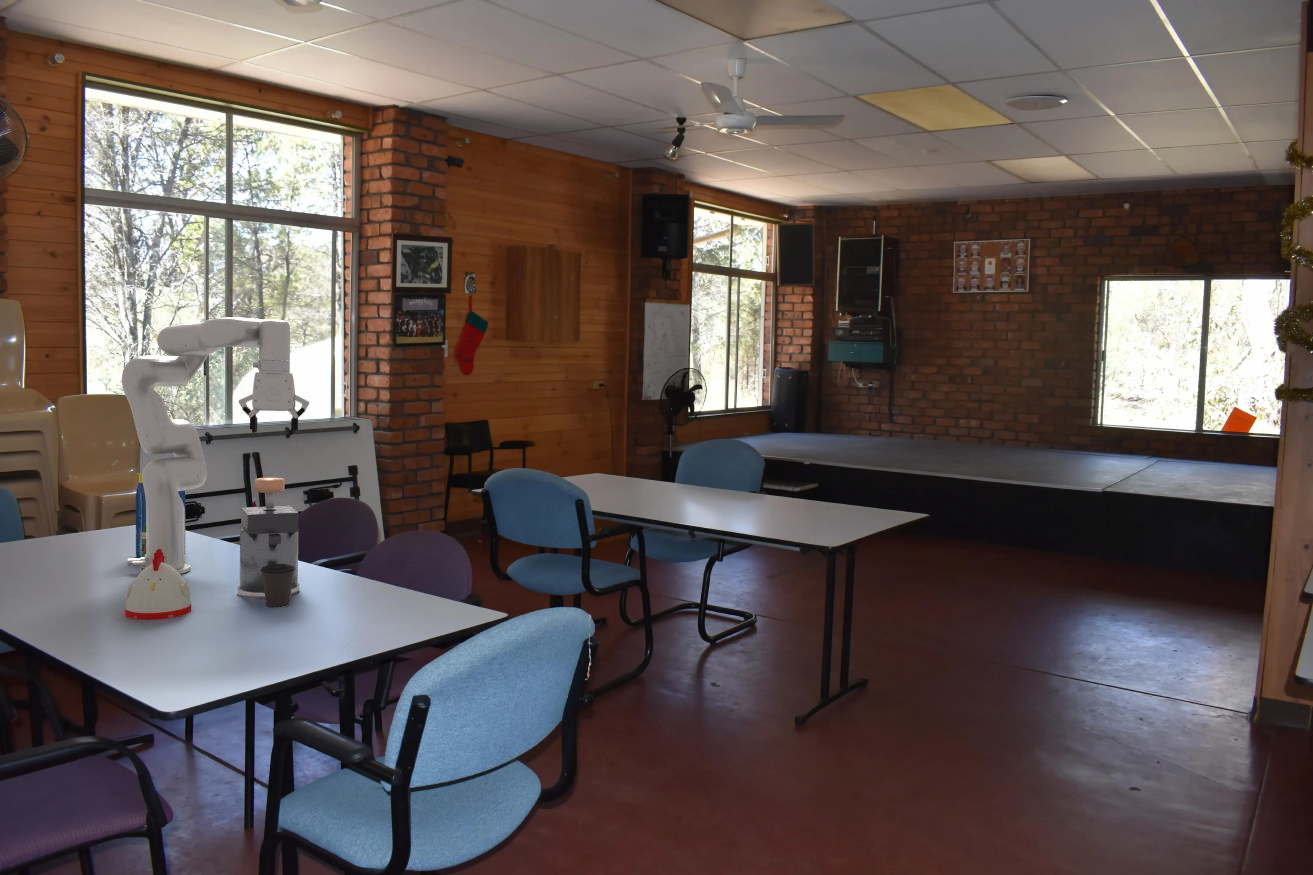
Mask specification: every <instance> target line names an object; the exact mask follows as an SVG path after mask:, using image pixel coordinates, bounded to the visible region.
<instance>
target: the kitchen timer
mask: <svg viewBox="0 0 1313 875" xmlns="http://www.w3.org/2000/svg"><path fill="white" fill-rule="evenodd" d="M164 559H165V556H163V552H162V549H157V550H156V553H154V559H152V561H153V564H151V565H149V566H148V567H146V568H145V569H144V570H143V571H142V572H141V573H140V572H139V574H138V575H137V576H136V577H135V579H134V581H133V582H132V584H131V585H130V584H129V585H128V587H127V590H126V592H127V593H126V597H125V599H126V601H125V605H124V616H125V617H127V618H128V619H133V620H141V621H154V620H155V621H156V620H165V619H166V620H167V619H172V618H173V619H174V618H177V617H181V616H184V615H188V614H189V613H191V612H192V598H191V590H190V584H189V581H188V580H185V579H184V578H183V576H182V574H180V573H179V572H178V571H177V570H176V569H174V568H173V567H172V566H170V565H168V564H166V563H164Z"/></svg>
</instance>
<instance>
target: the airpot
mask: <svg viewBox="0 0 1313 875" xmlns="http://www.w3.org/2000/svg"><path fill="white" fill-rule="evenodd" d="M240 516H241V524H240V525H241V526H240V527H241V528H240V530H239V585H238V586H237V592H236V593H237V596H239V597H241V598H245V599H251V600H265V591H264V582H263V573H262V572H261V571H260V570H261V569H262V567H265V566H268V565H271V564H287V565H291V566H294V568H295V570H294V572H293V579H292V587H291V595H290V597H292V596H295V595H297V594H299V593H300V591H301V589H300V588H301V586H300V583H299V512H298V511H297V510H296V509H294V507H292V506H291V505H284V506H283V505H277V506H275V505H274V508H273V509H266V506H254V507H253V506H250V507H248V506H247V507H241V515H240Z"/></svg>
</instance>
